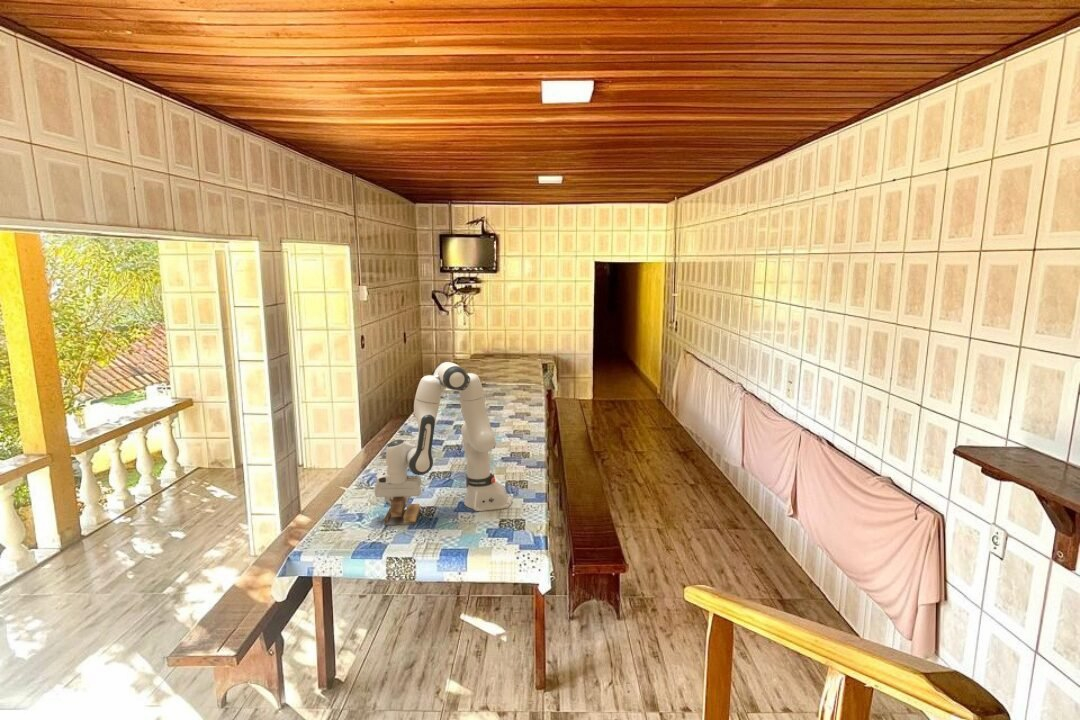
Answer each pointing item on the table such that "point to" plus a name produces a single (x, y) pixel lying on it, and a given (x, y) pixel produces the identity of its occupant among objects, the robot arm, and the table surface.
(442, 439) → the table surface
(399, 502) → the walnut plank
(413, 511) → the floor section
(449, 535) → the table surface
